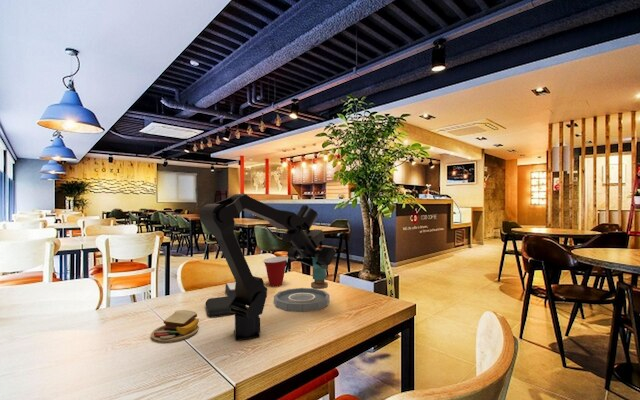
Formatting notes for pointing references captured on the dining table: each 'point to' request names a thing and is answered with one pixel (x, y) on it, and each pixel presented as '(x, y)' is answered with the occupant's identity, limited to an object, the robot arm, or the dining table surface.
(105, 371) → the dining table surface
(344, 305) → the dining table surface
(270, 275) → the plastic cup
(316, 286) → the bead spool
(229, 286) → the calculator
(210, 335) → the dining table surface
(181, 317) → the toy sandwich meal
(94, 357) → the dining table surface
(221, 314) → the carrying case or bag
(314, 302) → the round tray
